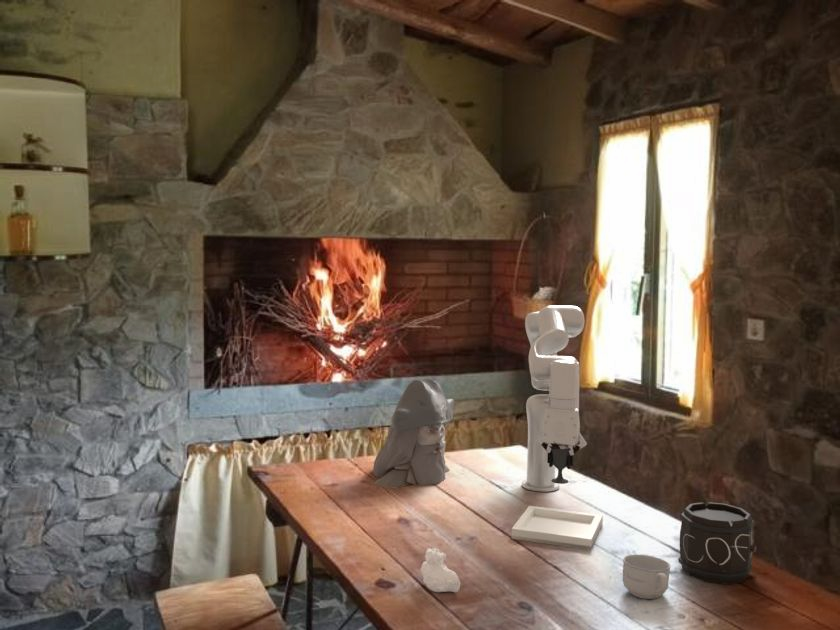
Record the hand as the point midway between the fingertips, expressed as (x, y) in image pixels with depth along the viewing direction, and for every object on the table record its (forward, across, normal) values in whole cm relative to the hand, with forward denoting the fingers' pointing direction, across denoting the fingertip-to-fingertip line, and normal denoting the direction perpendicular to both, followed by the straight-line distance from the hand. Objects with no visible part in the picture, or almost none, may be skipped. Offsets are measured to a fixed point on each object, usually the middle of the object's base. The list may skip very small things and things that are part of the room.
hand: (560, 466), depth 238 cm
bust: (+19, -58, +37) cm, 71 cm away
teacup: (+19, +28, -36) cm, 50 cm away
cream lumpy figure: (+20, -19, -51) cm, 58 cm away
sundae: (+5, 0, 0) cm, 5 cm away
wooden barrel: (+19, +43, -14) cm, 49 cm away
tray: (+19, 0, 0) cm, 19 cm away
